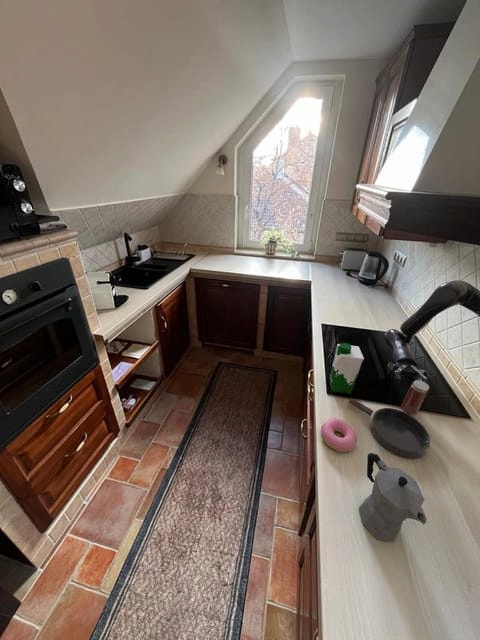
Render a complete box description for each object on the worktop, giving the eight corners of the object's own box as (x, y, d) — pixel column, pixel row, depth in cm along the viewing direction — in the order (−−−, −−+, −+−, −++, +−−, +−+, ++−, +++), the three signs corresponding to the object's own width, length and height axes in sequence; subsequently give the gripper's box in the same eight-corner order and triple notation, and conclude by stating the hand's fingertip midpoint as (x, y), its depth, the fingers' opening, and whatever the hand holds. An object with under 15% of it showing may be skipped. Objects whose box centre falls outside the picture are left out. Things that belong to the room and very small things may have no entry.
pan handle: (372, 413, 88) (373, 410, 87) (370, 416, 87) (371, 413, 86) (350, 399, 93) (351, 397, 92) (348, 402, 92) (348, 400, 91)
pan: (408, 415, 90) (411, 408, 88) (437, 460, 76) (442, 453, 74) (362, 413, 90) (364, 407, 88) (383, 458, 76) (387, 451, 74)
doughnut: (312, 432, 83) (314, 423, 81) (336, 418, 88) (339, 410, 86) (338, 460, 75) (341, 452, 73) (363, 444, 80) (366, 436, 78)
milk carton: (326, 378, 106) (336, 338, 96) (349, 380, 104) (361, 340, 94) (329, 393, 98) (341, 352, 88) (354, 396, 97) (368, 355, 87)
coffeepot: (416, 546, 58) (450, 507, 49) (382, 560, 56) (412, 522, 47) (369, 478, 71) (390, 437, 62) (340, 487, 69) (357, 447, 60)
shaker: (412, 403, 95) (424, 379, 89) (420, 415, 90) (433, 390, 84) (398, 403, 95) (409, 379, 89) (405, 414, 90) (418, 390, 84)
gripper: (388, 347, 107) (394, 372, 94) (426, 355, 103) (439, 382, 90) (382, 361, 111) (388, 387, 97) (419, 369, 107) (430, 397, 93)
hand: (412, 384), depth 94 cm, fingers open, 8 cm apart
